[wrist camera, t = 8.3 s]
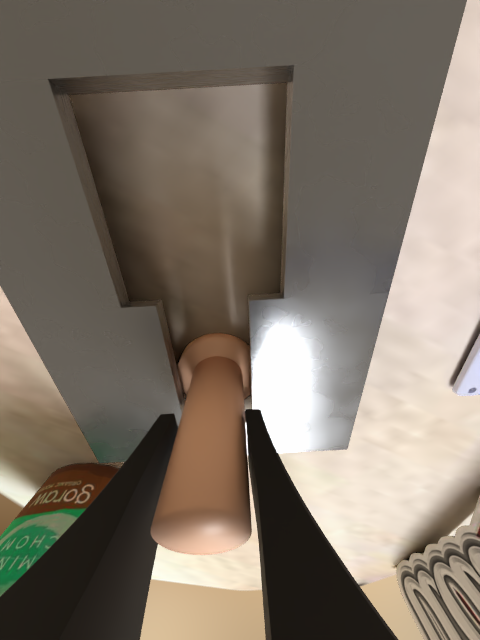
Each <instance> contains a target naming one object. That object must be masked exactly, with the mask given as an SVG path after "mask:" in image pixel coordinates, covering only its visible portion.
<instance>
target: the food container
mask: <svg viewBox="0 0 480 640" xmlns="http://www.w3.org/2000/svg"><path fill="white" fill-rule="evenodd" d="M118 470H119V469H118V468H115V467H112V466H108V465H101V464H94V463H82V464H73V465H68V466H65V467H62V468H60V469H58V470H56V471H55V472H54V473H52V474H51V476H50V477H49V478H48V479H47V480H46V482H45V483H44V484H43V485H42V486H41V488H40V489H39V490H38V491H37V493H36V494H35V495H34V496H33V497H32V499H31V500H30V501H29V502H28V503H27V505H26V506H25V507H24V508H23V510H22V511H21V512H20V513H19V514H18V516H17V517H16V518H15V519H14V521H13V522H12V523H11V524H10V525H9V527H8V528H7V529H6V530H5V531H4V533H3V534H2V535H1V536H0V596H1V595H2V594H3V593H4V592H5V591H6V590H7V589H8V588H10V587H11V586H12V585H13V584H14V583H15V582H16V581H17V580H18V579H19V578H20V577H21V576H22V575H23V574H24V573H25V572H26V571H27V570H28V569H29V568H30V567H31V566H32V565H33V564H34V563H35V562H36V561H37V560H38V559H39V558H40V557H41V556H42V555H43V554H44V553H45V552H46V551H47V550H48V549H49V548H50V547H51V546H52V545H53V544H54V543H55V542H56V541H57V540H58V539H59V537H60V536H61V535H62V534H63V533H64V532H65V531H66V530H67V529H68V528H69V527H70V526H71V525H72V524H73V523H74V522H75V520H76V519H77V518H78V517H79V516H80V515H81V514H82V513H83V512H84V511H85V509H86V508H87V507H88V506H89V505H90V504H91V503H92V502H93V500H94V499H95V498H96V497H97V496H98V495H99V493H100V492H101V491H102V490H103V489H104V487H105V486H106V485H107V484H108V483H109V481H110V480H111V479H112V478H113V477H114V475H115V474H116V473H117V472H118Z"/></svg>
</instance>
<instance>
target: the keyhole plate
mask: <svg viewBox="0 0 480 640" xmlns="http://www.w3.org/2000/svg"><path fill="white" fill-rule="evenodd" d="M466 2H467V0H0V286H1V288H2V289H3V291H4V293H5V295H6V297H7V298H8V300H9V302H10V304H11V306H12V307H13V309H14V311H15V313H16V314H17V316H18V318H19V320H20V322H21V323H22V325H23V327H24V329H25V331H26V332H27V334H28V336H29V338H30V340H31V341H32V343H33V345H34V347H35V349H36V350H37V352H38V354H39V356H40V357H41V359H42V361H43V363H44V365H45V366H46V368H47V370H48V372H49V374H50V375H51V377H52V379H53V381H54V383H55V384H56V386H57V388H58V390H59V391H60V393H61V395H62V397H63V399H64V400H65V402H66V404H67V406H68V408H69V409H70V411H71V413H72V415H73V417H74V418H75V420H76V422H77V424H78V426H79V427H80V429H81V431H82V433H83V434H84V436H85V438H86V440H87V442H88V443H89V445H90V447H91V449H92V451H93V452H94V454H95V456H96V458H97V460H98V461H99V463H110V462H126V460H127V459H128V458H129V456H130V455H131V454H132V452H133V451H134V450H135V449H136V447H137V446H138V445H139V443H140V442H141V440H142V439H143V438H144V436H145V435H146V434H147V432H148V431H149V429H150V428H151V427H152V425H153V424H154V422H155V421H156V420H157V418H158V417H159V416H160V415H161V414H173V413H174V415H175V418H176V422H177V426H178V427H179V423H180V420H181V416H182V412H183V409H184V405H185V401H184V396H183V392H182V388H181V383H180V379H179V374H178V370H177V365H176V361H175V356H174V352H173V347H172V343H171V338H170V334H169V329H168V325H167V321H166V316H165V312H164V307H163V303H162V300H147V301H129V298H128V295H127V291H126V288H125V284H124V281H123V278H122V274H121V271H120V268H119V264H118V261H117V257H116V254H115V251H114V247H113V244H112V240H111V237H110V234H109V230H108V227H107V224H106V220H105V217H104V213H103V210H102V207H101V203H100V200H99V196H98V193H97V190H96V186H95V183H94V180H93V176H92V173H91V169H90V166H89V163H88V159H87V156H86V152H85V149H84V146H83V142H82V139H81V136H80V132H79V129H78V125H77V122H76V119H75V115H74V112H73V108H72V105H71V102H70V98H69V95H77V94H95V93H113V92H130V91H148V90H166V89H183V88H201V87H219V86H236V85H254V84H272V83H287V106H286V136H285V166H284V196H283V226H282V255H281V285H280V293H272V294H254V295H248V310H249V338H250V366H251V393H252V409H260V410H261V411H262V415H263V419H264V422H265V424H266V427H267V430H268V432H269V435H270V437H271V440H272V442H273V444H274V446H275V448H276V450H277V453H289V452H307V451H325V450H343V449H347V448H348V444H349V441H350V437H351V433H352V429H353V426H354V422H355V418H356V414H357V411H358V407H359V403H360V399H361V396H362V392H363V388H364V384H365V381H366V377H367V373H368V369H369V366H370V362H371V358H372V354H373V351H374V347H375V343H376V339H377V336H378V332H379V328H380V324H381V321H382V317H383V313H384V309H385V306H386V302H387V298H388V294H389V291H390V287H391V283H392V279H393V276H394V272H395V268H396V264H397V261H398V257H399V253H400V249H401V246H402V242H403V238H404V234H405V231H406V227H407V223H408V219H409V216H410V212H411V208H412V204H413V201H414V197H415V193H416V189H417V186H418V182H419V178H420V174H421V171H422V167H423V163H424V159H425V156H426V152H427V148H428V144H429V141H430V137H431V133H432V129H433V125H434V122H435V118H436V114H437V110H438V107H439V103H440V99H441V95H442V92H443V88H444V84H445V80H446V77H447V73H448V69H449V65H450V62H451V58H452V54H453V50H454V47H455V43H456V39H457V35H458V32H459V28H460V24H461V20H462V17H463V13H464V9H465V5H466ZM245 426H246V411H245ZM246 443H247V426H246ZM247 455H248V444H247Z"/></svg>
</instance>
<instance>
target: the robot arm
mask: <svg viewBox="0 0 480 640" xmlns="http://www.w3.org/2000/svg"><path fill="white" fill-rule="evenodd" d="M452 390H453V392H454V393H456V394H457V395H459V396H468V395H480V334H479V336H478V338H477V340H476V342H475V344H474V346H473V348H472V350H471V352H470V354H469V356H468V358H467V360H466V362H465V364H464V366H463V368H462V370H461V372H460V374H459V375H458V377H457V379H456V381H455V383H454V385H453V388H452ZM246 426H247V444H248V461H249V470H250V478H251V485H252V493H253V500H254V507H255V515H256V522H257V530H258V539H259V551H260V564H261V578H262V592H263V606H264V619H265V634H266V640H398V639H397V637H396V636H395V635H394V633H393V632H392V631H391V629H390V628H389V627H388V626H387V624H386V623H385V621H384V620H383V618H382V617H381V616H380V614H379V613H378V612H377V610H376V609H375V607H374V606H373V605H372V603H371V602H370V600H369V599H368V598H367V596H366V595H365V594H364V592H363V591H362V589H361V588H360V587H359V585H358V584H357V582H356V581H355V580H354V578H353V577H352V575H351V574H350V572H349V571H348V569H347V568H346V566H345V565H344V563H343V562H342V560H341V559H340V557H339V556H338V555H337V553H336V552H335V550H334V549H333V547H332V546H331V544H330V543H329V541H328V540H327V538H326V537H325V535H324V534H323V532H322V530H321V529H320V527H319V526H318V524H317V523H316V521H315V519H314V518H313V516H312V515H311V513H310V511H309V510H308V508H307V506H306V505H305V503H304V501H303V500H302V498H301V496H300V494H299V493H298V491H297V489H296V487H295V486H294V484H293V482H292V480H291V478H290V476H289V474H288V473H287V471H286V469H285V467H284V465H283V463H282V461H281V459H280V457H279V455H278V453H277V450H276V448H275V446H274V444H273V442H272V440H271V437H270V435H269V432H268V430H267V427H266V424H265V422H264V419H263V415H262V411H261V410H260V409H246ZM177 431H178V426H177V422H176V418H175V415H174V413H173V414H161V415H160V416H159V417H158V418H157V420H156V421H155V422H154V424H153V425H152V427H151V428H150V429H149V431H148V432H147V434H146V435H145V436H144V438H143V439H142V440H141V442H140V443H139V445H138V446H137V447H136V449H135V450H134V451H133V452H132V454H131V455H130V456H129V458H128V459H127V460H126V462H125V463H124V464H123V465H122V467H121V468H120V469H119V470H118V472H117V473H116V474H115V475H114V477H113V478H112V479H111V480H110V481H109V483H108V484H107V485H106V486H105V487H104V489H103V490H102V491H101V492H100V493H99V495H98V496H97V497H96V498H95V499H94V500H93V502H92V503H91V504H90V505H89V506H88V507H87V508H86V509H85V511H84V512H83V513H82V514H81V515H80V516H79V517H78V518H77V519H76V520H75V522H74V523H73V524H72V525H71V526H70V527H69V528H68V529H67V530H66V531H65V532H64V533H63V534H62V535H61V536H60V537H59V539H58V540H57V541H56V542H55V543H54V544H53V545H52V546H51V547H50V548H49V549H48V550H47V551H46V552H45V553H44V554H43V555H42V556H41V557H40V558H39V559H38V560H37V561H36V562H35V563H34V564H33V565H32V566H31V567H30V568H29V569H28V570H27V571H26V572H25V573H24V574H23V575H22V576H21V577H20V578H19V579H18V580H17V581H16V582H15V583H14V584H13V585H12V586H11V587H10V588H8V589H7V590H6V591H5V592H4V593H3V594H2V595H1V596H0V640H140V635H141V629H142V624H143V618H144V613H145V607H146V602H147V596H148V591H149V585H150V580H151V575H152V570H153V565H154V560H155V555H156V549H157V545H158V543H157V542H156V541H155V540H154V539H153V538H152V536H151V526H152V522H153V519H154V515H155V511H156V508H157V504H158V500H159V497H160V493H161V489H162V486H163V482H164V478H165V475H166V471H167V467H168V464H169V460H170V456H171V453H172V449H173V445H174V442H175V438H176V434H177Z"/></svg>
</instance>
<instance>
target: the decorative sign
mask: <svg viewBox="0 0 480 640" xmlns="http://www.w3.org/2000/svg"><path fill="white" fill-rule="evenodd" d="M396 574H397V581H398V584H399V588H400V591H401V593H402V596H403V598H404V601H405V603H406V605H407V607H408V609H409V611H410V613H411V615H412V617H413V619H414V621H415V623H416V625H417V627H418V629H419V631H420V633H421V635H422V636H423V639H424V640H480V496H479V499H478V502H477V504H476V507H475V510H474V513H473V516H472V519H471V522H470V525H469V526H461V527H459V528H458V529H457V530H456V534H455V536H443V537H441V538H440V539H439V541H438V544H429V545H427V546H426V548H425V551H424V553H413V554H412V555H411V556H410V559H409V560H402V561H401V562H400V563H399V564H398V565H397V569H396Z"/></svg>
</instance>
